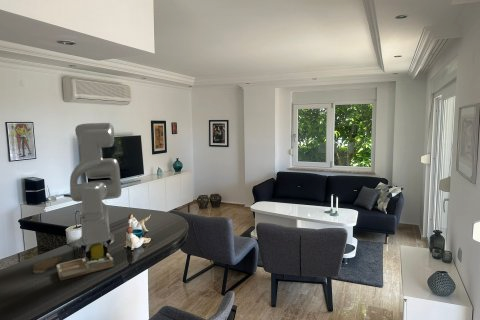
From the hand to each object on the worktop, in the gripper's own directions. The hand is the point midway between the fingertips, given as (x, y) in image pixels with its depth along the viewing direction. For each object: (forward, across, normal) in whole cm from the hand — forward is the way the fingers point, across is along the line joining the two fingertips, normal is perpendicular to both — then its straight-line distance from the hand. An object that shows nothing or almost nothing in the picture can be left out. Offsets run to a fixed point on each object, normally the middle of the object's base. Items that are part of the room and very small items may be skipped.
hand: (97, 257), depth 142 cm
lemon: (+2, 0, 0) cm, 2 cm away
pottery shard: (+4, -18, +15) cm, 24 cm away
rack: (+4, -5, 0) cm, 6 cm away
